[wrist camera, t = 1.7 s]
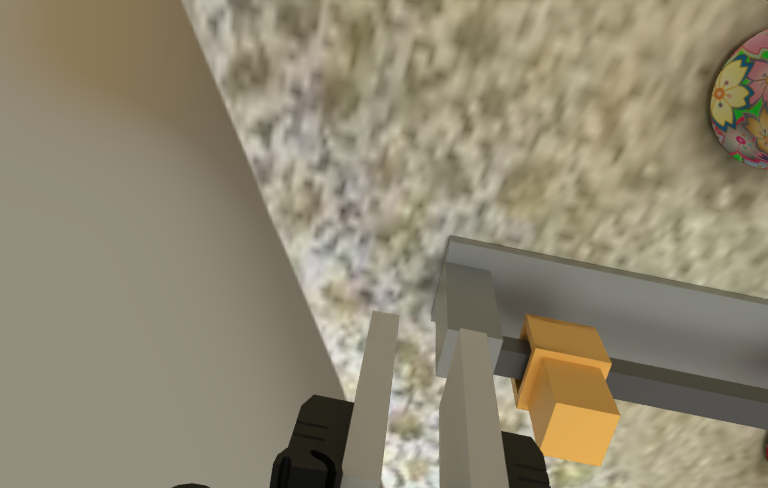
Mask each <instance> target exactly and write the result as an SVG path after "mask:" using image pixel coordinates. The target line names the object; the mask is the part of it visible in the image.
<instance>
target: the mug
mask: <svg viewBox="0 0 768 488" xmlns="http://www.w3.org/2000/svg"><path fill="white" fill-rule="evenodd" d="M710 111H711V121H712V126H713V129H714V132H715V134H716V136H717V138H718V140H719V142H720V143H721V145H722V146H723V147H724V149H725V150H726V151H727V152H728V153H729V154H730V155H731V156H733V157H734V158H736V159H737V160H739V161H740V162H742V163H744V164H747V165H749V166H752V167H756V168H761V169H768V29H766V30H764V31H762V32H760V33H758V34H757V35H755V36H753V37H752V38H751V39H749V40H748V41H746V42H745V43H744V44H743V45H742V46H740V47H739V48H738V49H737V50H736V51H735V52H734V54H733V55H732V56H731V57H730V58H729V60H728V61H727V62H726V64H725V65H724V67H723V69H722V70H721V72H720V74H719V76H718V78H717V80H716V83H715V85H714V89H713V92H712V98H711V106H710Z"/></svg>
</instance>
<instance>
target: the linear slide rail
mask: <svg viewBox="0 0 768 488" xmlns="http://www.w3.org/2000/svg"><path fill="white" fill-rule="evenodd" d="M526 314H531V315H536V316H541V317H546V318H551V319H556V320H561V321H566V322H571V323H576V324H581V325H586V326H591V327H595V328H596V330H597V332H598V334H599V337H600V339H601V341H602V343H603V345H604V347H605V349H606V352H607V354H608V356H609V358H610V360H611V362H612V365H611V368H610V370H609V373H608V376H607V378H606V383H607V385H608V388H609V390H610V392H611V395H612V397H613V399H618V400H623V401H628V402H632V403H637V404H642V405H647V406H652V407H657V408H662V409H667V410H672V411H677V412H682V413H687V414H692V415H697V416H702V417H707V418H712V419H717V420H721V421H726V422H731V423H736V424H741V425H746V426H751V427H756V428H761V429H766V430H768V300H767V299H762V298H757V297H752V296H747V295H742V294H737V293H732V292H727V291H722V290H717V289H712V288H707V287H702V286H697V285H692V284H687V283H682V282H678V281H673V280H668V279H663V278H658V277H653V276H648V275H643V274H638V273H633V272H628V271H623V270H618V269H613V268H608V267H603V266H598V265H593V264H588V263H583V262H578V261H574V260H569V259H564V258H559V257H554V256H549V255H544V254H539V253H534V252H529V251H524V250H519V249H514V248H509V247H504V246H499V245H494V244H489V243H484V242H479V241H474V240H469V239H465V238H460V237H455V236H450V239H449V243H448V247H447V251H446V256H445V260H444V264H443V268H442V272H441V276H440V280H439V284H438V289H437V293H436V297H435V301H434V305H433V309H432V313H431V321H434V322H436V376H438V377H443V378H447V376H448V372H449V368H450V365H451V361H452V357H453V353H454V349H455V346H456V342H457V338H458V334H459V330H460V328H463V329H468V330H473V331H477V332H482V333H487V339H488V345H489V352H490V359H491V366H492V373H493V374H494V375H499V376H504V377H509V378H514V379H519V380H523V377H524V374H525V371H526V368H527V364H528V361H529V358H530V355H531V352H532V350H531V347H530V343H529V341H527V340H522V339H517V338H519V335H520V332H521V329H522V325H523V322H524V319H525V316H526ZM507 336H508V337H507ZM512 337H513V338H512ZM611 357H612V358H611ZM616 358H617V359H616ZM621 359H622V360H621ZM626 360H627V361H626ZM631 361H632V362H631ZM636 362H637V363H636ZM641 363H642V364H641ZM690 373H691V374H690ZM695 374H696V375H695ZM700 375H701V376H700ZM705 376H706V377H705ZM710 377H711V378H710ZM715 378H716V379H715ZM720 379H721V380H720ZM725 380H726V381H725ZM730 381H731V382H730ZM735 382H736V383H735Z"/></svg>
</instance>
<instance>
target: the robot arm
mask: <svg viewBox="0 0 768 488" xmlns="http://www.w3.org/2000/svg"><path fill="white" fill-rule="evenodd" d="M398 324H399V316H398V315H393V314H388V313H383V312H379V311H374V310H373V312H372V317H371V322H370V327H369V332H368V337H367V342H366V347H365V352H364V357H363V362H362V366H361V371H360V376H359V381H358V386H357V391H356V396H355V401H354V403H353V402H348V401H343V400H338V399H333V398H328V397H324V396H318V395H313V396H312V397H311V398H310V399H308V400H307V401H306V402H305V403H304V404H303V405H302V406H301V409H300V412H299V415H298V418H297V421H296V424H295V427H294V430H293V434H292V437H291V440H290V443H289V446H288V448H286V449H285V450H283V451H282V452H281V453H279V454H278V455H277V457H276V459H275V461H274V463H273V468H272V475H271V481H270V488H379V486H380V483H381V474H382V465H383V456H384V447H385V439H386V430H387V421H388V412H389V403H390V395H391V386H392V377H393V368H394V359H395V351H396V342H397V333H398ZM439 465H440V488H551V487H550V486H549V483H550V482H549V478H548V474H547V473H546V470H547V469H546V465H545V460H544V456H543V453H542V451H541V450H540V449H539V447H538V446H537V444H536V443H535V442H534V440H533V439H532V438H531V437H529V436H524V435H519V434H514V433H509V432H504V431H501V428H500V421H499V415H498V408H497V401H496V394H495V387H494V380H493V373H492V366H491V359H490V352H489V345H488V339H487V333H482V332H477V331H473V330H468V329H463V328H460V330H459V334H458V338H457V342H456V346H455V349H454V353H453V357H452V361H451V365H450V368H449V372H448V376H447V380H446V384H445V387H444V391H443V395H442V399H441V402H440V406H439ZM173 488H209V487H208V486H205V485H199V484H193V483H191V484H183V485H177V486H175V487H173Z"/></svg>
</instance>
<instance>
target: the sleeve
mask: <svg viewBox="0 0 768 488" xmlns="http://www.w3.org/2000/svg"><path fill="white" fill-rule="evenodd" d="M518 339H522V340H527V341H529V343H530V347H531V350H532V352H531V355H530V358H529V361H528V364H527V368H526V371H525V374H524V377H523V380H519V379H514V378H511V382H512V388H513V393H514V398H515V403H516V408H518V409H523V410H528V411H529V413H530V417H531V422H532V427H533V431H534V436H535V440H536V444H537V446H538V447H539V449H540V450H541V451H542V453H543V455H545V456H550V457H555V458H560V459H565V460H570V461H575V462H580V463H585V464H590V465H595V466H601V464H602V461H603V459H604V456H605V454H606V451H607V449H608V446H609V444H610V441H611V438H612V436H613V433H614V431H615V428H616V426H617V423H618V421H619V418H620V413H619V411H618V409H617V406H616V404H615V402H614V399H613V397H612V395H611V392H610V390H609V388H608V385H607V383H606V378H607V376H608V373H609V370H610V368H611V365H612V362H611V360H610V358H609V356H608V354H607V352H606V349H605V347H604V345H603V343H602V341H601V339H600V337H599V334H598V332H597V330H596V328H595V327H591V326H586V325H581V324H576V323H571V322H566V321H561V320H556V319H551V318H546V317H541V316H536V315H531V314H526V316H525V319H524V322H523V325H522V329H521V332H520V335H519V338H518Z"/></svg>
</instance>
